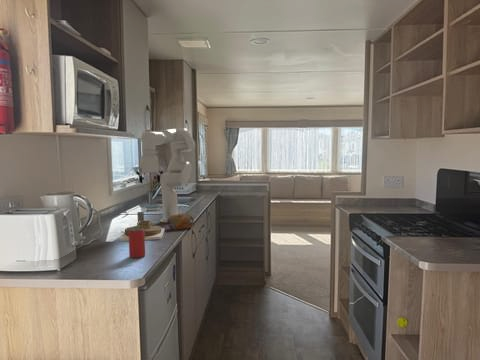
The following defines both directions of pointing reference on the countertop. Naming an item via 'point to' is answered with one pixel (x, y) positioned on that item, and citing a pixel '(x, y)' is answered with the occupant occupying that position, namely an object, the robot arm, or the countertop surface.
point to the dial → (145, 228)
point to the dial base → (150, 237)
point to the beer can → (136, 243)
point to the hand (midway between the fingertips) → (149, 182)
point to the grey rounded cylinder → (140, 216)
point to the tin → (180, 221)
